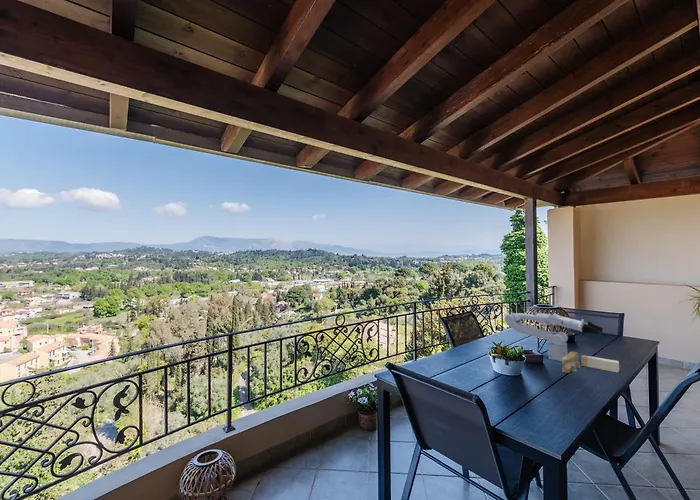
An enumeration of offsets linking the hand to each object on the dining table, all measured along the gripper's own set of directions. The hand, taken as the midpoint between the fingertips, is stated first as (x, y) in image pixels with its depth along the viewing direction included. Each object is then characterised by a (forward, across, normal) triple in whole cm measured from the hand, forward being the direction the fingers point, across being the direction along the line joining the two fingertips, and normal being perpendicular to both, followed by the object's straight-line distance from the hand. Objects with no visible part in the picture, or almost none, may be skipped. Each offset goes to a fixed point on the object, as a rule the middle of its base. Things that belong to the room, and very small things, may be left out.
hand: (600, 331), depth 179 cm
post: (-8, -13, +22) cm, 27 cm away
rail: (+2, -2, +20) cm, 20 cm away
